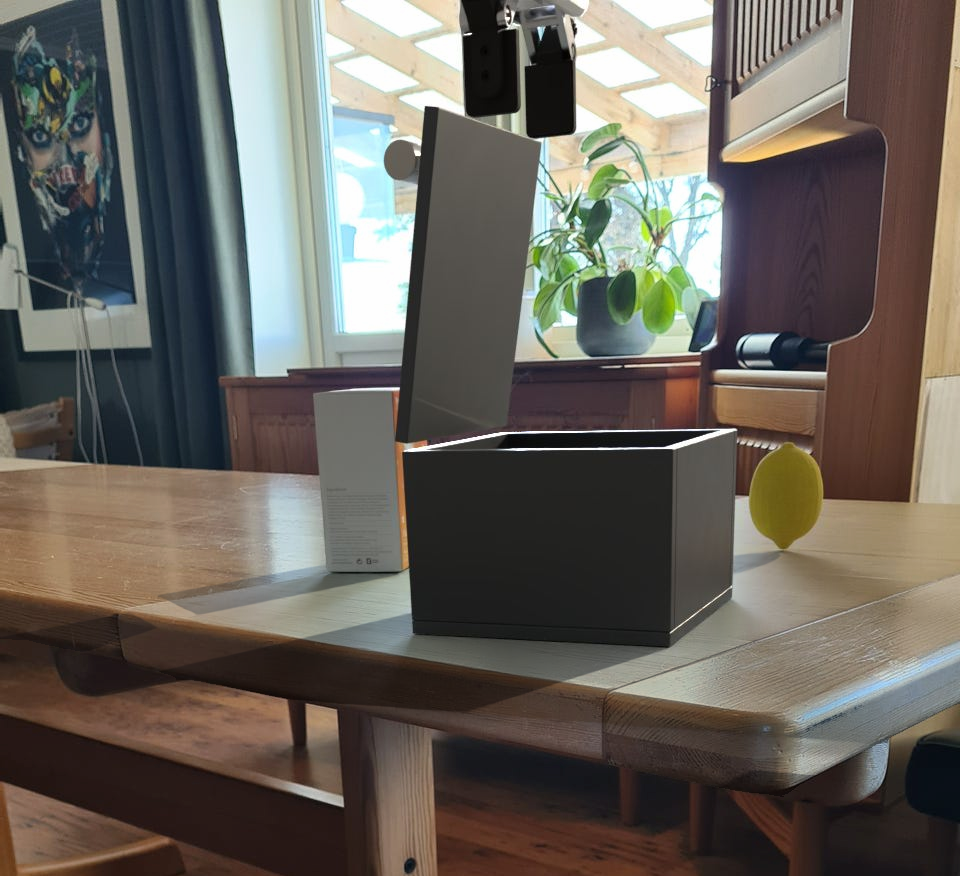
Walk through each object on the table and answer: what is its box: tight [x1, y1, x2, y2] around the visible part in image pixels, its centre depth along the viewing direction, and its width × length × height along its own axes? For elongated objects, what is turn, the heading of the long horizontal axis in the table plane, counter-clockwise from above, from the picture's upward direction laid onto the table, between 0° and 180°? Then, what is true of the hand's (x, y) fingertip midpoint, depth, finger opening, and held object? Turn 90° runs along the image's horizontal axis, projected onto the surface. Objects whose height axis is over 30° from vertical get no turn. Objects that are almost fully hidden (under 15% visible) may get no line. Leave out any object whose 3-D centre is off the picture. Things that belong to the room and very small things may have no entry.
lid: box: [383, 105, 543, 444], centre depth 75 cm, size 16×15×5 cm
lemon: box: [748, 441, 824, 551], centre depth 98 cm, size 6×6×8 cm
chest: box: [402, 428, 738, 648], centre depth 77 cm, size 16×15×10 cm
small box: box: [312, 386, 428, 573], centre depth 98 cm, size 8×6×13 cm
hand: (523, 126), depth 77 cm, fingers open, 9 cm apart
